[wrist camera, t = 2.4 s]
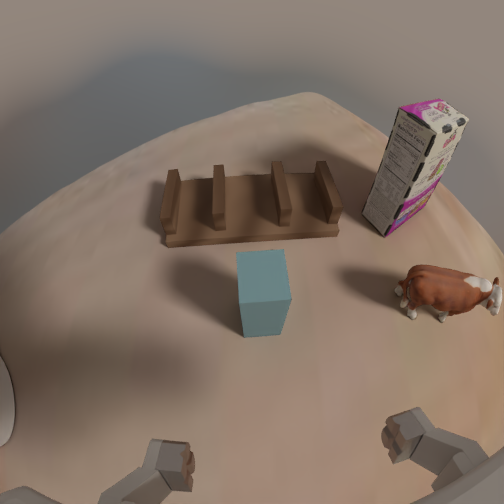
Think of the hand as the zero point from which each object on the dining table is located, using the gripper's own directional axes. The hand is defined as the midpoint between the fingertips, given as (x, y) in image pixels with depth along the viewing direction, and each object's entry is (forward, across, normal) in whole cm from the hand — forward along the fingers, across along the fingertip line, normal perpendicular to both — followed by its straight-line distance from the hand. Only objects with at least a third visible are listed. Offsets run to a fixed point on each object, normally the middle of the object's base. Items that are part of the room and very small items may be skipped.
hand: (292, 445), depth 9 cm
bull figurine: (+17, -20, +4) cm, 26 cm away
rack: (+28, 0, -7) cm, 29 cm away
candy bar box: (+27, -20, -6) cm, 34 cm away
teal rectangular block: (+18, 0, +3) cm, 18 cm away
